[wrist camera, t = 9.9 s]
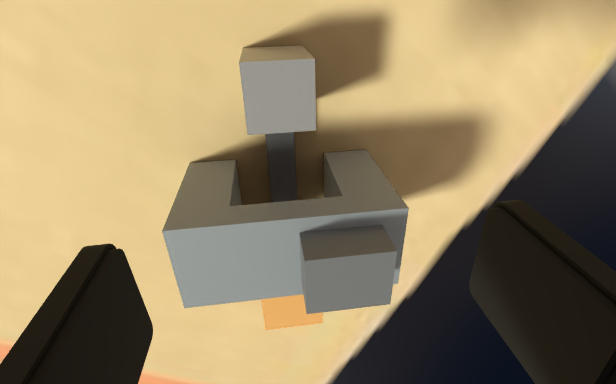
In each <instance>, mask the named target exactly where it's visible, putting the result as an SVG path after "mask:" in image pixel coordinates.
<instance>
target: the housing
mask: <svg viewBox="0 0 616 384" xmlns="http://www.w3.org/2000/svg"><path fill="white" fill-rule="evenodd" d="M408 209H409V208H408V207H407V205H406V204H405V202H404V201H403V200H402V198H401V197H400V195H399V194H398V193H397V191H396V190H395V189H394V187H393V186H392V184H391V183H390V182H389V180H388V179H387V177H386V176H385V175H384V173H383V172H382V171H381V169H380V168H379V166H378V165H377V164H376V162H375V161H374V159H373V158H372V157H371V155H370V154H369V153H368V151H367V150H355V151H341V152H328V153H324V198H318V199H306V200H295V201H284V202H272V203H261V204H249V205H242V201H241V194H240V187H239V180H238V172H237V165H236V159H234V160H221V161H208V162H194V163H190V164H189V166H188V169H187V171H186V173H185V176H184V178H183V181H182V183H181V186H180V188H179V191H178V193H177V196H176V198H175V201H174V203H173V206H172V208H171V211H170V213H169V216H168V218H167V221H166V223H165V226H164V228H163V230H162V232H163V235H164V239H165V242H166V246H167V249H168V253H169V256H170V260H171V263H172V267H173V270H174V274H175V277H176V281H177V284H178V288H179V291H180V294H181V298H182V301H183V305H184V308H190V307H199V306H207V305H216V304H225V303H233V302H242V301H250V300H259V299H268V298H276V297H285V296H294V295H302V294H303V295H304V302H305V308H306V314H313V313H321V312H329V311H338V310H346V309H354V308H362V307H370V306H379V305H387V304H390V302H391V295H392V287H393V284H397V283H398V279H399V272H400V265H401V258H402V251H403V244H404V237H405V230H406V223H407V216H408Z"/></svg>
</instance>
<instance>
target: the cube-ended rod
mask: <svg viewBox="0 0 616 384" xmlns="http://www.w3.org/2000/svg"><path fill="white" fill-rule="evenodd" d="M239 66H240V74H241V83H242V91H243V100H244V108H245V117H246V125H247V133H248V135H257V134H266V143H267V155H268V166H269V177H270V188H271V199H272V202H284V201H295V200H297V185H296V164H295V143H294V132H301V131H316V93H315V58H314V57H313V56H312V55H311V54H310V53H309V52H308V51H307V50H306V49H305V48H304V47H303V45H294V46H271V47H248V48H243V50H242V53H241V57H240V61H239ZM262 307H263V315H264V322H265V330H270V329H278V328H286V327H294V326H302V325H310V324H318V323H323V312H321V313H313V314H306V308H305V302H304V295H303V294H302V295H294V296H285V297H276V298H268V299H262Z"/></svg>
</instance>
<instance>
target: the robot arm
mask: <svg viewBox="0 0 616 384" xmlns="http://www.w3.org/2000/svg"><path fill="white" fill-rule="evenodd" d="M469 288H470V292H471V294H472V296H473V298H474V299H475V300H476V302H477V303H478V305H479V306H480V307H481V309H482V310H483V312H484V313H485V314H486V316H487V317H488V319H489V320H490V321H491V323H492V324H493V325H494V327H495V328H496V330H497V331H498V332H499V334H500V335H501V336H502V338H503V339H504V341H505V342H506V343H507V345H508V346H509V348H510V349H511V350H512V352H513V353H514V355H515V356H516V357H517V359H518V360H519V361H520V363H521V364H522V366H523V367H524V368H525V370H526V371H527V373H528V374H529V375H530V377H531V378H532V380H533V381H534V382H535V384H616V272H615V271H614V270H612V269H611V268H610V267H609V266H607V265H606V264H605V263H603V262H602V261H601V260H599V259H598V258H597V257H595V256H594V255H593V254H591V253H590V252H589V251H588V250H586V249H585V248H584V247H582V246H581V245H580V244H578V243H577V242H576V241H574V240H573V239H572V238H571V237H569V236H568V235H567V234H565V233H564V232H563V231H561V230H560V229H559V228H558V227H556V226H555V225H554V224H552V223H551V222H550V221H548V220H547V219H546V218H544V217H543V216H542V215H541V214H539V213H538V212H537V211H535V210H534V209H533V208H531V207H530V206H528V205H527V204H526V203H525V202H523V201H521V200H513V201H503V202H497V203H495V205H494V206H493V208H491V209H489V211H488V213H487V216H486V220H485V223H484V228H483V231H482V236H481V239H480V243H479V247H478V251H477V255H476V259H475V262H474V267H473V270H472V274H471V278H470V282H469ZM152 335H153V326H152V322H151V320H150V317H149V315H148V312H147V309H146V307H145V304H144V302H143V299H142V297H141V294H140V292H139V289H138V287H137V284H136V281H135V279H134V276H133V274H132V271H131V269H130V266H129V264H128V261H127V259H126V256H125V253H124V252H123V250H122V249H116V247H115V246H114V245H113V244H102V245H93V246H86V247H83V248H82V249H81V251H80V252H79V253H78V255H77V256H76V258H75V259H74V261H73V262H72V263H71V265H70V266H69V268H68V269H67V270H66V272H65V273H64V275H63V276H62V278H61V279H60V280H59V282H58V283H57V285H56V286H55V288H54V289H53V290H52V292H51V293H50V295H49V296H48V297H47V299H46V300H45V302H44V303H43V305H42V306H41V307H40V309H39V310H38V312H37V313H36V314H35V316H34V317H33V319H32V320H31V322H30V323H29V324H28V326H27V327H26V329H25V330H24V331H23V333H22V334H21V336H20V337H19V339H18V340H17V341H16V343H15V344H14V346H13V347H12V349H11V350H10V351H9V353H8V354H7V356H6V357H5V358H4V360H3V361H2V363H1V364H0V384H138V382H139V378H140V375H141V372H142V369H143V366H144V362H145V359H146V356H147V353H148V350H149V346H150V343H151V340H152Z"/></svg>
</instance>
